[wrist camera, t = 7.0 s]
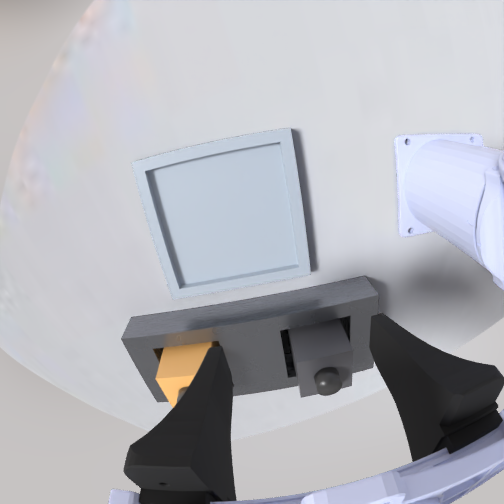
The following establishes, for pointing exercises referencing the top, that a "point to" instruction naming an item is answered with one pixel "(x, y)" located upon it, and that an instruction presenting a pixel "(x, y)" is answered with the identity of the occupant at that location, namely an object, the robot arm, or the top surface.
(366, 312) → the strip
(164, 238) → the tray
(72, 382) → the top surface
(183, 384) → the plug
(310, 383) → the grey block with knob
